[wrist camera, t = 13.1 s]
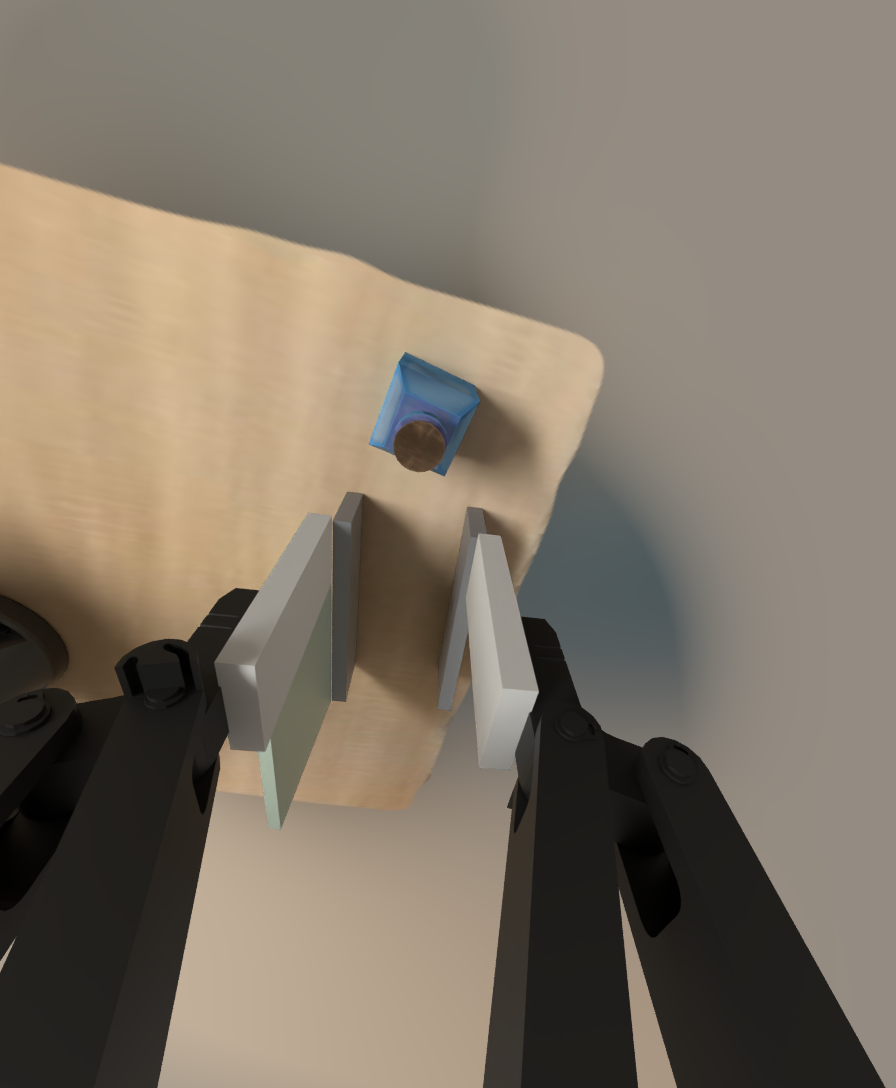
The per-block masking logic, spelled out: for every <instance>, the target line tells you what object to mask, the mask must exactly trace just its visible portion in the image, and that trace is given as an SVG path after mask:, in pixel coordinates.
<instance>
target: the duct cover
mask: <svg viewBox="0 0 896 1088" xmlns="http://www.w3.org/2000/svg"><path fill="white" fill-rule="evenodd" d="M331 570H332V547H331ZM330 702H331V585H330V588H329V590H328V593H327V595H326V598H325V600H324V603H323V606H322V608H321V611H320V613H319V616H318V618H317V621H316V623H315V626H314V629H313V631H312V634H311V636H310V639H309V641H308V644H307V646H306V649H305V652H304V654H303V657H302V659H301V662H300V664H299V667H298V669H297V672H296V674H295V677H294V680H293V682H292V685H291V687H290V690H289V692H288V695H287V697H286V700H285V703H284V705H283V708H282V710H281V713H280V715H279V718H278V720H277V723H276V726H275V728H274V731H273V733H272V736H271V738H270V741H269V743H268V746H267V749H266V751H265V752H258V756H259V763H260V771H261V778H262V785H263V793H264V800H265V807H266V814H267V822H268V828H270V829H276V830H281V827H282V825H283V822H284V820H285V817H286V815H287V812H288V810H289V807H290V804H291V802H292V799H293V797H294V794H295V792H296V789H297V786H298V784H299V781H300V779H301V776H302V774H303V771H304V769H305V766H306V763H307V761H308V758H309V756H310V753H311V751H312V748H313V745H314V743H315V740H316V738H317V735H318V733H319V730H320V727H321V725H322V722H323V720H324V717H325V715H326V712H327V709H328V707H329V704H330Z"/></svg>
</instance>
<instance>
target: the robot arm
mask: <svg viewBox="0 0 896 1088" xmlns="http://www.w3.org/2000/svg"><path fill="white" fill-rule="evenodd" d="M331 547H332V516H330V515H322V514H314V513H308V514H307V516H306V517H305V519H304V520H303V522H302V523H301V525H300V527H299V528H298V530H297V531H296V533H295V535H294V536H293V538H292V539H291V541H290V543H289V544H288V546H287V547H286V549H285V551H284V552H283V554H282V555H281V557H280V558H279V560H278V562H277V563H276V565H275V566H274V568H273V570H272V571H271V573H270V574H269V576H268V578H267V579H266V581H265V582H264V584H263V586H262V587H261V589H260V590H250V589H240V588H235V589H234V590H232V591H231V592H229V593H228V594H226V595H225V596H223V597H222V598H220V599H219V600H218V601H217V603H216V604H215V605H214V607H213V608H212V609H211V611H210V612H209V615H208V616H206V617H205V619H204V620H203V621H202V623H201V625H200V627H198V628H197V629H196V631H195V632H194V633H193V635H192V636H191V638H190V639H189V640H188V642H185V641H183V640H178V639H163V640H158V641H152V642H149V643H147V644H144V645H142V646H139V647H137V648H135V649H134V650H132V651H131V652H129V653H128V654H126V655H125V656H123V657H122V658H121V660H120V661H119V662H118V663H117V665H116V666H115V670H116V673H117V676H118V679H119V681H120V684H121V687H122V690H123V693H124V695H123V696H119V697H115V698H109V699H102V700H96V701H90V702H84V703H78V704H77V703H76V701H75V699H74V697H73V696H72V695H71V694H70V693H69V692H68V691H65V690H62V689H58V688H50V687H51V686H52V685H53V684H54V683H55V682H56V681H57V680H58V679H59V678H60V677H61V676H62V675H63V674H64V672H65V671H66V668H67V665H68V654H67V651H66V648H65V646H64V644H63V642H62V640H61V639H60V637H59V636H58V635H57V633H56V632H55V631H54V630H53V629H52V628H51V627H50V626H49V625H48V624H47V623H46V622H45V621H44V620H43V619H41V618H40V617H39V616H37V615H36V614H35V613H33V612H32V611H30V610H28V609H27V608H25V607H23V606H22V605H20V604H18V603H16V602H14V601H12V600H9V599H7V598H4V597H2V596H0V961H1V959H2V958H3V956H4V955H5V953H6V952H7V950H8V948H9V947H10V945H11V944H12V942H13V941H14V939H15V938H16V939H15V941H14V944H13V946H12V948H11V950H10V952H9V954H8V957H7V959H6V961H5V963H4V965H3V968H2V970H1V972H0V1088H157V1087H158V1081H159V1076H160V1071H161V1066H162V1061H163V1056H164V1051H165V1046H166V1041H167V1036H168V1030H169V1025H170V1020H171V1015H172V1010H173V1005H174V1000H175V995H176V990H177V985H178V980H179V975H180V970H181V965H182V959H183V954H184V949H185V944H186V939H187V933H188V929H189V924H190V919H191V914H192V909H193V904H194V899H195V893H196V888H197V882H198V878H199V872H200V868H201V863H202V857H203V853H204V848H205V843H206V837H207V832H208V827H209V822H210V817H211V812H212V807H213V802H214V797H215V792H216V787H217V782H218V777H219V771H220V757H219V751H220V749H221V747H222V745H223V743H224V741H225V739H226V737H227V735H228V738H229V744H230V749H232V750H245V751H258V752H265V751H266V749H267V746H268V743H269V741H270V738H271V736H272V733H273V731H274V728H275V726H276V723H277V720H278V718H279V715H280V713H281V710H282V708H283V705H284V703H285V700H286V697H287V695H288V692H289V690H290V687H291V685H292V682H293V680H294V677H295V674H296V672H297V669H298V667H299V664H300V662H301V659H302V657H303V654H304V652H305V649H306V646H307V644H308V641H309V639H310V636H311V634H312V631H313V629H314V626H315V623H316V621H317V618H318V616H319V613H320V611H321V608H322V606H323V603H324V600H325V598H326V595H327V593H328V590H329V588H330V585H331ZM466 607H467V620H468V633H469V646H470V659H471V672H472V685H473V696H474V697H473V698H474V711H475V722H476V723H475V724H476V736H477V750H478V763H479V768H487V769H500V770H511V767H512V764H513V762H514V758H515V757H516V763H517V769H518V779H517V781H516V784H515V787H514V790H513V792H512V795H511V797H510V800H509V803H508V806H507V808H510V809H512V814H511V824H510V834H509V843H508V853H507V862H506V872H505V881H504V891H503V900H502V910H501V920H500V929H499V939H498V949H497V958H496V968H495V977H494V987H493V997H492V1006H491V1016H490V1025H489V1035H488V1045H487V1054H486V1064H485V1074H484V1083H483V1088H638V1082H637V1072H636V1062H635V1052H634V1041H633V1032H632V1021H631V1011H630V1000H629V991H628V980H627V970H626V959H625V949H624V939H623V930H622V918H621V908H620V898H619V890H620V894H621V897H622V900H623V904H624V907H625V911H626V914H627V917H628V921H629V924H630V927H631V931H632V935H633V938H634V942H635V945H636V948H637V952H638V955H639V959H640V962H641V966H642V969H643V972H644V975H645V979H646V983H647V986H648V989H649V993H650V996H651V1000H652V1003H653V1007H654V1010H655V1012H656V1013H655V1014H656V1017H657V1020H658V1024H659V1027H660V1031H661V1034H662V1038H663V1041H664V1044H665V1047H666V1051H667V1055H668V1058H669V1061H670V1065H671V1068H672V1072H673V1075H674V1078H675V1082H676V1085H677V1088H885V1087H884V1084H883V1082H882V1081H881V1079H880V1077H879V1075H878V1074H877V1072H876V1070H875V1068H874V1066H873V1064H872V1063H871V1061H870V1059H869V1057H868V1055H867V1054H866V1052H865V1050H864V1048H863V1046H862V1045H861V1043H860V1041H859V1039H858V1037H857V1036H856V1034H855V1032H854V1030H853V1029H852V1027H851V1025H850V1023H849V1021H848V1019H847V1018H846V1016H845V1014H844V1012H843V1010H842V1009H841V1007H840V1005H839V1003H838V1002H837V1000H836V998H835V996H834V994H833V993H832V991H831V989H830V987H829V985H828V984H827V982H826V980H825V978H824V976H823V974H822V973H821V971H820V969H819V967H818V966H817V964H816V962H815V960H814V958H813V957H812V955H811V953H810V951H809V949H808V947H807V946H806V944H805V942H804V940H803V939H802V937H801V935H800V933H799V931H798V930H797V928H796V926H795V924H794V922H793V921H792V919H791V917H790V916H789V913H788V912H787V910H786V908H785V906H784V904H783V903H782V901H781V899H780V897H779V895H778V894H777V892H776V890H775V888H774V886H773V885H772V883H771V881H770V880H769V878H768V876H767V874H766V872H765V870H764V868H763V867H762V865H761V863H760V861H759V860H758V858H757V856H756V854H755V852H754V850H753V849H752V847H751V845H750V843H749V841H748V840H747V838H746V836H745V834H744V832H743V831H742V829H741V827H740V825H739V824H738V822H737V820H736V818H735V816H734V814H733V813H732V811H731V809H730V807H729V805H728V804H727V802H726V800H725V798H724V796H723V795H722V793H721V791H720V789H719V787H718V786H717V784H716V782H715V780H714V778H713V777H712V775H711V773H710V771H709V769H708V768H707V767H706V766H705V764H704V763H703V761H702V760H701V759H700V757H699V756H697V755H696V754H695V753H694V752H693V751H692V750H690V749H689V748H688V747H687V746H685V745H683V744H681V743H679V742H677V741H675V740H672V739H668V738H664V737H658V738H652V739H650V740H649V741H648V742H647V743H645V745H644V746H643V748H642V747H640V746H637V745H634V744H632V743H629V742H626V741H624V740H621V739H618V738H616V737H613V736H611V735H609V734H607V733H605V732H604V731H602V730H601V727H600V725H599V724H598V722H597V721H596V719H595V718H594V717H593V716H592V715H591V714H590V713H588V712H587V711H586V710H584V709H583V708H582V707H581V705H580V702H579V699H578V696H577V693H576V690H575V687H574V685H573V681H572V678H571V675H570V673H569V670H568V667H567V664H566V661H564V655H563V652H562V649H560V647H561V646H560V643H559V640H558V637H557V634H556V632H555V631H554V630H553V628H552V627H551V626H550V625H549V624H548V622H547V621H546V620H545V619H539V618H529V617H520V613H519V609H518V605H517V600H516V596H515V592H514V588H513V584H512V580H511V576H510V572H509V568H508V564H507V560H506V556H505V551H504V547H503V543H502V539H501V536H498V535H489V534H481V533H479V534H478V539H477V544H476V549H475V554H474V559H473V564H472V569H471V574H470V579H469V584H468V589H467V593H466ZM16 936H17V937H16Z"/></svg>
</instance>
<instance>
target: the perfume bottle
mask: <svg viewBox="0 0 896 1088" xmlns="http://www.w3.org/2000/svg"><path fill="white" fill-rule="evenodd" d="M479 403H480V399H479V396H478V394H477V391H476V388H475V385H472V384H470V383H468V382H466V381H464V380H462V379H460V378H458V377H456V376H454V375H452V374H450V373H448V372H445V371H443V370H441V369H439V368H437V367H435V366H433V365H431V364H429V363H427V362H425V361H423V360H421V359H419V358H416V357H414V356H412V355H410V354H408V353H406V352H405V354H404V355H403V356H402V358H401V359H400V361H399V362H398V365H397V368H396V370H395V373H394V376H393V379H392V381H391V384H390V387H389V390H388V392H387V395H386V398H385V401H384V403H383V406H382V409H381V412H380V414H379V417H378V420H377V422H376V425H375V428H374V431H373V433H372V436H371V439H370V442H369V445H372V446H374V447H376V448H379V449H381V450H383V451H386V452H388V453H391V454H393V455H395V456H396V458H397V460H398V461H399V462H400V464H401V465H402V466H404V467H405V468H407V469H409V470H411V471H415V472H426V471H429V470H431V471H433V472H435V473H438V474H440V475H443V476H445V474H446V472H447V470H448V468H449V466H450V464H451V462H452V460H453V457H454V455H455V453H456V451H457V449H458V447H459V445H460V443H461V441H462V438H463V436H464V434H465V432H466V430H467V428H468V426H469V424H470V422H471V419H472V417H473V415H474V413H475V411H476V409H477V407H478V405H479Z"/></svg>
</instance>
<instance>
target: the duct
mask: <svg viewBox="0 0 896 1088" xmlns="http://www.w3.org/2000/svg"><path fill="white" fill-rule="evenodd" d="M362 508H363V494H361V493H353V492H347V493H346V495H345V497H344V499H343V501H342V503H341V505H340V507H339V509H338V511H337V513H336V515H335V517H334V519H333V593H332V701H344V702H346V699H347V695H348V691H349V687H350V683H351V679H352V674H353V670H354V666H355V662H356V644H357V622H358V599H359V576H360V553H361V531H362ZM479 533H481V534H487V530H486V525H485V520H484V515H483V509H481V508H473V507H467V510H466V516H465V521H464V527H463V532H462V538H461V543H460V549H459V555H458V560H457V566H456V571H455V577H454V582H453V588H452V593H451V599H450V604H449V610H448V615H447V621H446V626H445V632H444V638H443V643H442V649H441V654H440V660H439V665H438V703H437V709H438V710H449V711H451V708H452V703H453V699H454V694H455V689H456V685H457V680H458V676H459V671H460V666H461V662H462V657H463V653H464V648H465V643H466V639H467V634H468V620H467V607H466V593H467V589H468V584H469V579H470V574H471V569H472V564H473V559H474V554H475V549H476V544H477V539H478V534H479Z"/></svg>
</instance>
